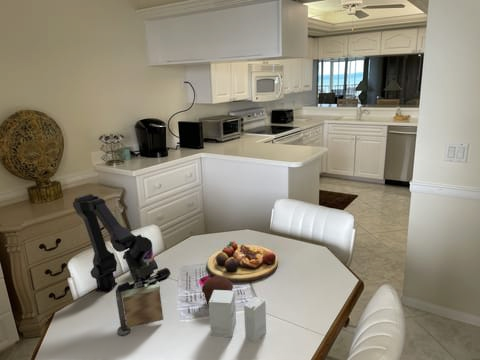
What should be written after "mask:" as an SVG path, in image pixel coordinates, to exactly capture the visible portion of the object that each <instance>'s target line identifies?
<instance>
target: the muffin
mask: <svg viewBox="0 0 480 360" xmlns="http://www.w3.org/2000/svg"><path fill="white" fill-rule="evenodd" d="M233 289H234V285H233V283H232V281H230V280H229V279H228V278H226V277H223V276H212V277H210V278H208V279H207V280H206V281H205V282H204V284H203V285H202V286H201V292H202V293H203V295H204V298H205V303H206V307H208V308H209V300H210V298H211V295H212V293H213V291H214V290H228V291H233Z"/></svg>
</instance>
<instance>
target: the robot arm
mask: <svg viewBox="0 0 480 360" xmlns="http://www.w3.org/2000/svg"><path fill="white" fill-rule="evenodd" d="M72 207H73V209H74V210H75V212H76V214H77V215H78V216H79V217H80V218H81V219H83V222H84V225H85V228H86V232H87V234H88V237H89V239H90V243H91V246H92V250H93V254H94V255H93V258H92V265H93V267H92V269H91V270H90V275H91V278H93V279H95V281H96V288H95V289H94V291H95V292H105V293H110V292H111V291H112V290H113V289H114V288H115V287H116V286H117V287H116V290H115V294H116V293H118V292H123V291H127V290H132V289H136V288H141V287H146V286H150V285H155V284H158V283H160V282H164V281H166V280H167V279H169V278H170V276H171V274H172V273H171V271H170V269H169V268H168V267H164V268H162V269H159V267H158V266H159V265H158V264H157V261H156V260H155V259H154V260H153V261H150V262H149V265H147V263H146V262H144V259H143V257H145V255H146V254H147V253H148V252H149V251H150V249H151V248H152V247H153V243H152V241H151V239H149V238H148V237H146V236H142V235H141V234H138V235H135V234H133V233H132V232H131V231H130V229H128V228H127V227H124V226H122V225H121V224H120V222H119V221H118V219H117V218H116V217H115V216H114V214H113V212H112V211H111V210H110V209H109V207H108V206H107V204H106V201H105V199H104V198H103V197H102V198H101V197H100V196H98V195H93V194H91V193H88V194H85V195H82V196H78V197H76V198H74V200H73V202H72ZM99 221H100V222H99ZM100 223H101V224H102V226H103V227H104V229H106V231H107V233H108V235H109V241H110V244H111V246H112V249H113V250H114V251H116V252H119V253H121V252H123V255H122V260H125V262H126V264H127V267H128V269H129V274H130V276H131V278H132V280H133V282H132V283H129V281H126V282H123V283H121V284H118V282H117V281H116V277H115V276H114V273H115V272H117V269H118V268H117V267H118V261H117V259H116V256H115V253H113V252H111V251H109V250H108V248H107V244H106V240H105V239H104V235H103V233H102V232H103V231H102V229H101V225H100ZM155 270H157V271H156V273H155V272H154V271H155ZM153 274H154V275H153Z"/></svg>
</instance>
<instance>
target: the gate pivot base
mask: <svg viewBox="0 0 480 360" xmlns="http://www.w3.org/2000/svg"><path fill="white" fill-rule="evenodd" d="M126 326H127V325H126ZM116 332H117V335H118V336H119V337H126V336H128V335H130V334H131V332H132V328H128V329H125V330H121V326H119V327H118V328H117V330H116Z"/></svg>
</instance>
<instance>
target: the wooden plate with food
mask: <svg viewBox="0 0 480 360" xmlns="http://www.w3.org/2000/svg"><path fill="white" fill-rule="evenodd" d="M278 265H279V259H278V256H277V255H276V253H275V252H274V251H273V250H270V249H268V248H266V247H264V246H260V245H253V244H252V245H251V244H241V245H238V243H236V241H234V240H233V241H229V243H228V244H227V245H226V247H224V248H221V249H220V250H218V251H217V252H214V253H213V254H211V256H210V257H209V258H208V259H207V261H206V269H207V271H208V272H209V273H210V275H211V276H212V277H214V276H223V277H226V278H228V279H229V280H230V281H231V283H232V282H234V283H242V282H244V281H245V282H252V281H257V280H259V279H263V278H265V277H267V276H269V275H270V274H272V273H273V272H274V271H275V270H276V269H277V267H278Z"/></svg>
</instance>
